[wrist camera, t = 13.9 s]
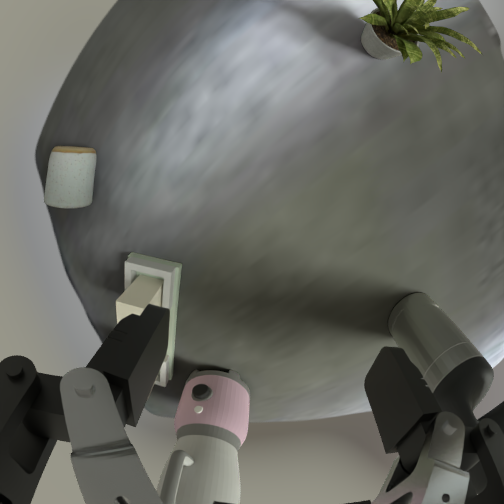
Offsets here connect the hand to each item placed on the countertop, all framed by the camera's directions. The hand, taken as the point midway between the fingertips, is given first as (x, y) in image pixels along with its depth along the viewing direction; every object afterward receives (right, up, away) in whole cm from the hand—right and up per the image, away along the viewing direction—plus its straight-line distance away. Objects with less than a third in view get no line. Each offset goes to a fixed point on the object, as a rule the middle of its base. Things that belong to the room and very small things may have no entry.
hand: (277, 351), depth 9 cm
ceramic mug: (-27, +15, +26) cm, 41 cm away
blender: (-7, -20, +38) cm, 43 cm away
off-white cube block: (-16, -2, +30) cm, 34 cm away
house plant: (+17, +31, +18) cm, 40 cm away
